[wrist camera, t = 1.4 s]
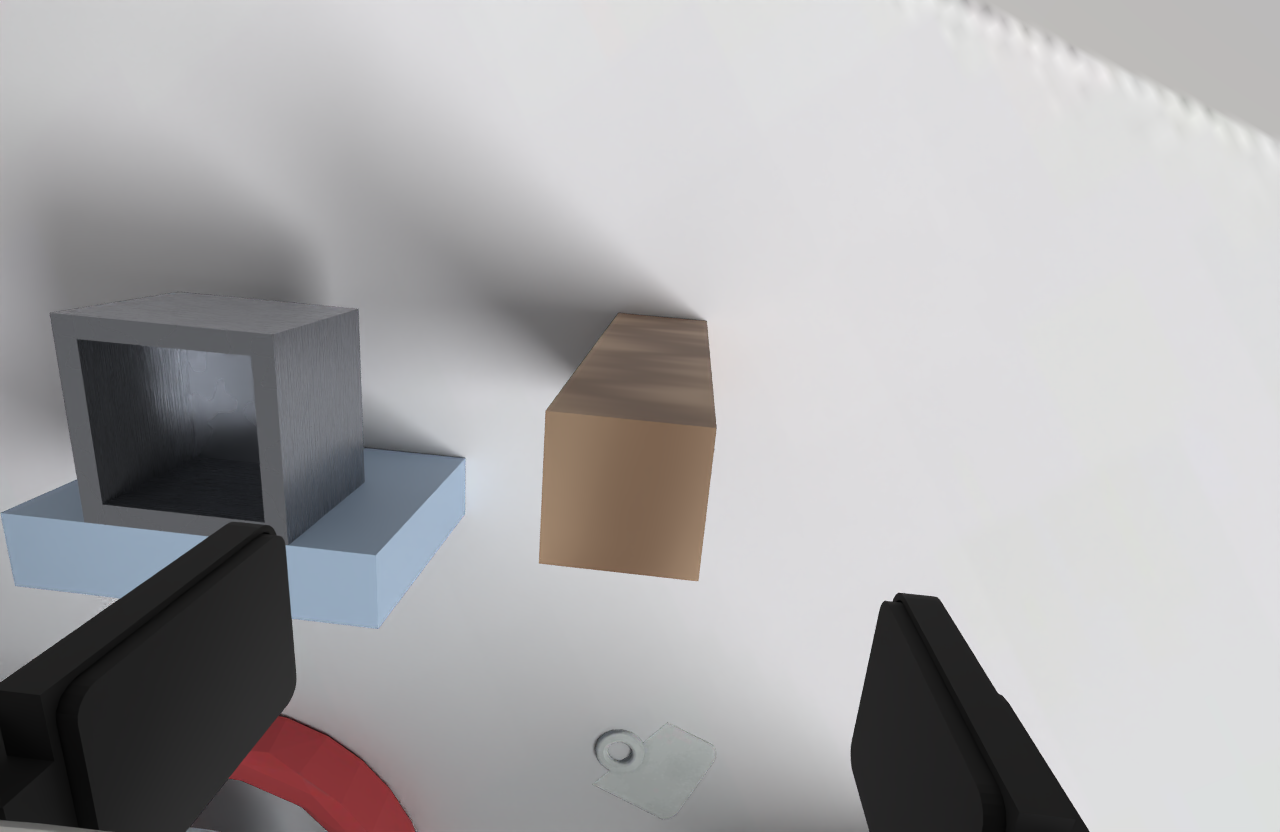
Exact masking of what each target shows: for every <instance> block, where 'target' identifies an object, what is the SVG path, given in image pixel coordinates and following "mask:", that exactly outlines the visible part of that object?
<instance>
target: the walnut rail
mask: <svg viewBox="0 0 1280 832" xmlns="http://www.w3.org/2000/svg"><path fill="white" fill-rule="evenodd" d="M715 437H716V417H715V406H714V395H713V384H712V373H711V362H710V351H709V340H708V329H707V321H700V320H689V319H678V318H668V317H657V316H646V315H636V314H625V313H618V314H617V316H616V317H615V318H614V320H613V321H612V322H611V324H610V325H609V326H608V328H607V329H606V330H605V332H604V333H603V334H602V336H601V337H600V339H599V340H598V341H597V343H596V344H595V345H594V347H593V348H592V349H591V351H590V352H589V353H588V355H587V356H586V357H585V359H584V360H583V361H582V363H581V364H580V365H579V367H578V368H577V369H576V371H575V372H574V373H573V375H572V376H571V377H570V379H569V380H568V381H567V383H566V384H565V386H564V387H563V388H562V390H561V391H560V392H559V394H558V395H557V396H556V398H555V399H554V400H553V402H552V403H551V404H550V406H549V407H548V408H547V410H546V414H545V437H544V460H543V482H542V505H541V528H540V551H539V563H540V564H549V565H558V566H566V567H575V568H584V569H593V570H602V571H611V572H620V573H629V574H638V575H647V576H656V577H664V578H673V579H682V580H691V581H698V579H699V571H700V563H701V554H702V546H703V537H704V529H705V521H706V512H707V504H708V495H709V487H710V479H711V470H712V462H713V453H714V445H715Z"/></svg>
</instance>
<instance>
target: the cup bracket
mask: <svg viewBox="0 0 1280 832" xmlns="http://www.w3.org/2000/svg"><path fill="white" fill-rule="evenodd" d="M50 318H51V324H52V330H53V336H54V342H55V348H56V354H57V360H58V366H59V372H60V378H61V384H62V390H63V396H64V402H65V408H66V414H67V420H68V426H69V432H70V439H71V445H72V451H73V457H74V463H75V469H76V475H77V481H78V487H79V493H80V499H81V505H82V511H83V517H84V523H93V524H102V525H111V526H120V527H129V528H138V529H147V530H155V531H164V532H173V533H182V534H191V535H200V536H210V535H212V534H213V533H215V532H216V531H217V530H219V529H220V528H222V527H223V526H225V525H226V524H228V523H230V522H244V523H253V524H262V525H270V526H271V527H273V528H274V530H275V532H276V535H279V536H281V537H283V539H284V541H285V545H289V544H291V543H292V542H293V541H294V540H295V539H297V538H298V537H299V536H300V535H301V534H303V533H304V532H305V531H306V530H307V529H309V528H310V527H311V526H312V525H314V524H315V523H316V522H317V521H318V520H320V519H321V518H322V517H323V516H324V515H326V514H327V513H328V512H329V511H330V510H332V509H333V508H334V507H335V506H336V505H338V504H339V503H340V502H341V501H343V500H344V499H345V498H346V497H347V496H349V495H350V494H351V493H352V492H353V491H355V490H356V489H357V488H358V487H359V486H361V485H362V484H363V483H364V482H365V476H364V448H363V420H362V393H361V365H360V338H359V310H358V309H355V308H344V307H334V306H323V305H312V304H302V303H291V302H281V301H270V300H260V299H249V298H238V297H228V296H217V295H207V294H196V293H186V292H175V293H168V294H162V295H156V296H150V297H144V298H138V299H132V300H125V301H119V302H113V303H107V304H101V305H95V306H88V307H82V308H76V309H70V310H64V311H58V312H52V313H50Z"/></svg>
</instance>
